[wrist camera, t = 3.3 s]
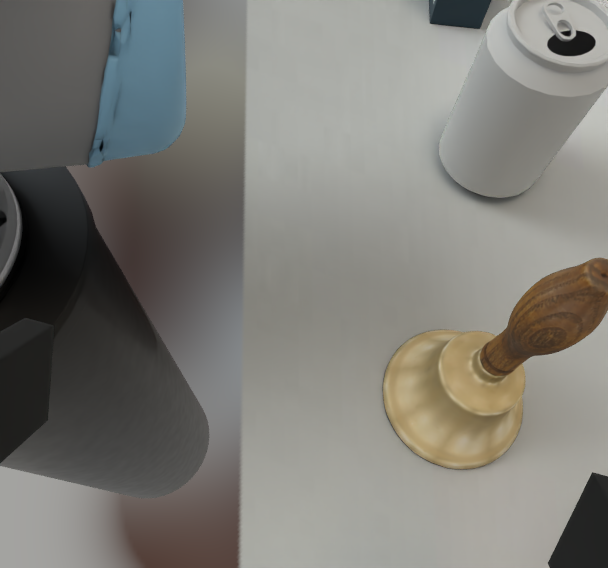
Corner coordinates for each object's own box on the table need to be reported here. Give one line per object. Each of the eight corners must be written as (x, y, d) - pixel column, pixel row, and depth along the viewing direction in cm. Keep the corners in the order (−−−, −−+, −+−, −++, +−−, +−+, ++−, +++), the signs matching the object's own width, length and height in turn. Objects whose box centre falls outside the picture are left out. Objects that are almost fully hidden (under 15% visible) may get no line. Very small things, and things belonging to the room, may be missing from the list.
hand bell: (374, 333, 33) (453, 177, 18) (503, 327, 33) (679, 172, 19) (392, 474, 29) (508, 420, 15) (536, 465, 30) (783, 404, 15)
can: (466, 217, 37) (547, 86, 26) (417, 137, 39) (472, -11, 29) (555, 187, 38) (667, 52, 27) (502, 113, 41) (585, -37, 30)
